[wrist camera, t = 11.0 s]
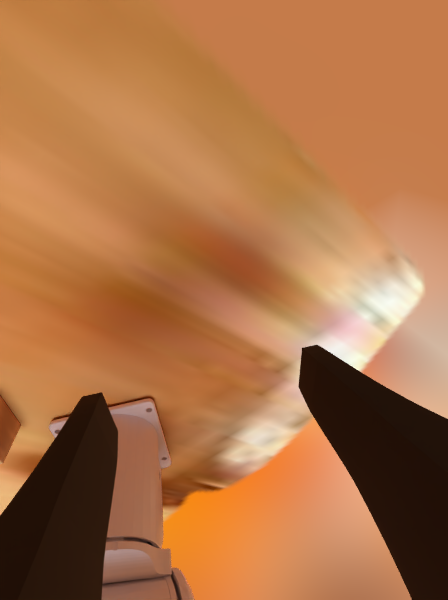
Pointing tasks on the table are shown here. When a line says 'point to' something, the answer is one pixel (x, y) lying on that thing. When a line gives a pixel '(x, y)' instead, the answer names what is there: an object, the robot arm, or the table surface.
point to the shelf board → (7, 429)
